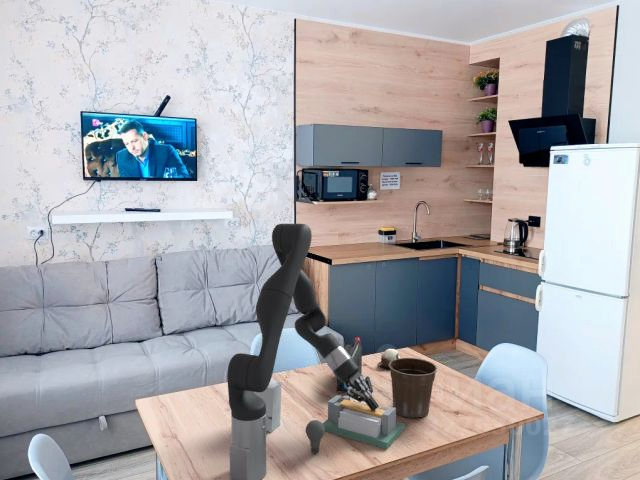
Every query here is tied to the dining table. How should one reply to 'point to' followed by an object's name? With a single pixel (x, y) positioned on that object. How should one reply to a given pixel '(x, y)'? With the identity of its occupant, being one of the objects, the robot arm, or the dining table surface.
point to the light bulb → (315, 434)
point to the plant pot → (412, 386)
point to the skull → (388, 358)
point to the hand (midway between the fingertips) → (375, 408)
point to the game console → (356, 355)
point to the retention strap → (362, 408)
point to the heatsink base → (365, 438)
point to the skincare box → (272, 404)
